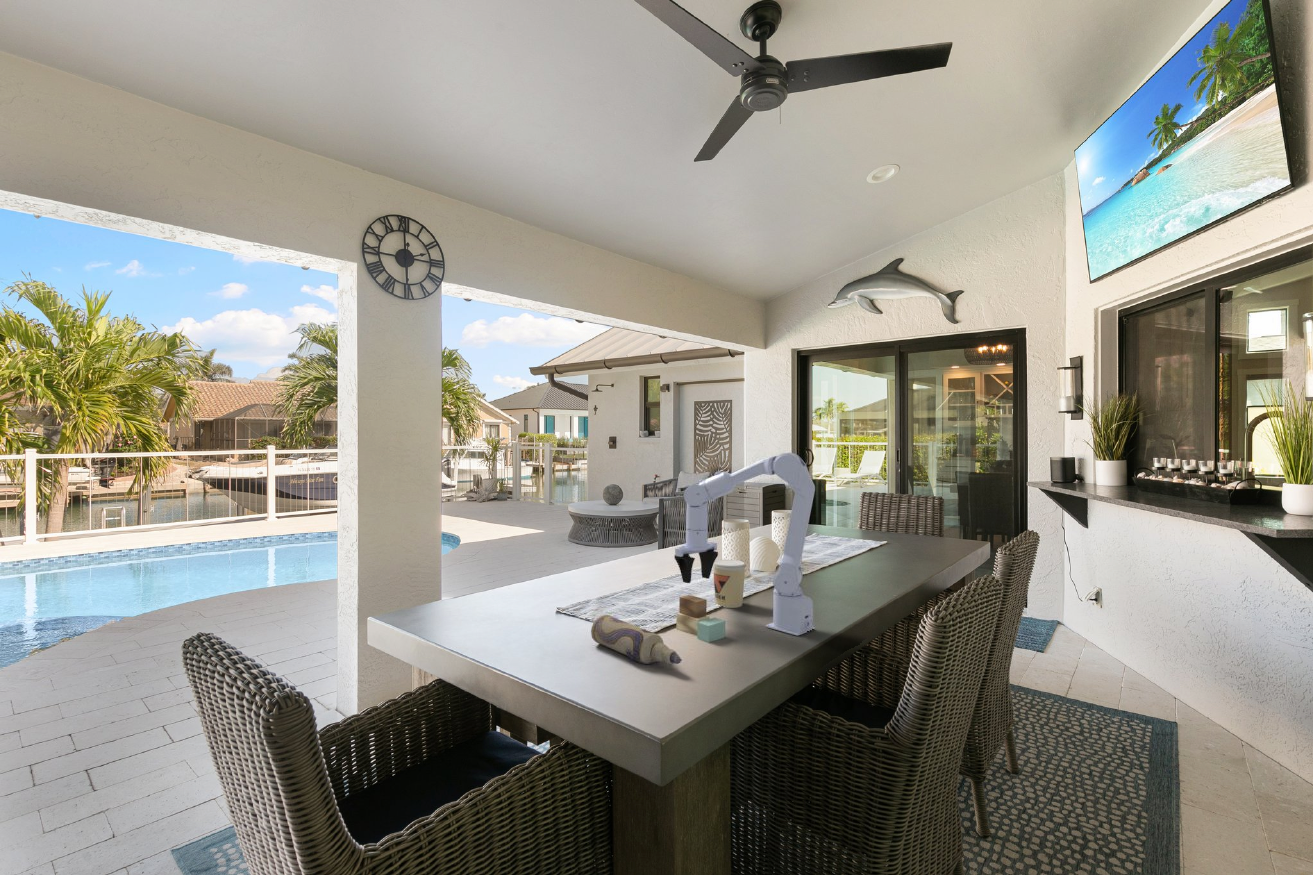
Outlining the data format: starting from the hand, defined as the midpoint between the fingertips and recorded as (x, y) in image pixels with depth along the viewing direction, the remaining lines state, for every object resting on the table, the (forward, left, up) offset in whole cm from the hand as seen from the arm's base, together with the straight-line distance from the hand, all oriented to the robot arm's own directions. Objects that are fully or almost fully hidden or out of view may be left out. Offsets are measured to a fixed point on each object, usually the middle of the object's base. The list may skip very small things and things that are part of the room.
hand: (696, 580), depth 159 cm
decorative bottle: (-10, +32, -10) cm, 35 cm away
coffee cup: (+3, -17, -10) cm, 20 cm away
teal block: (-13, +9, -10) cm, 19 cm away
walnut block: (-6, +8, -6) cm, 12 cm away
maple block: (-7, +8, -10) cm, 15 cm away
